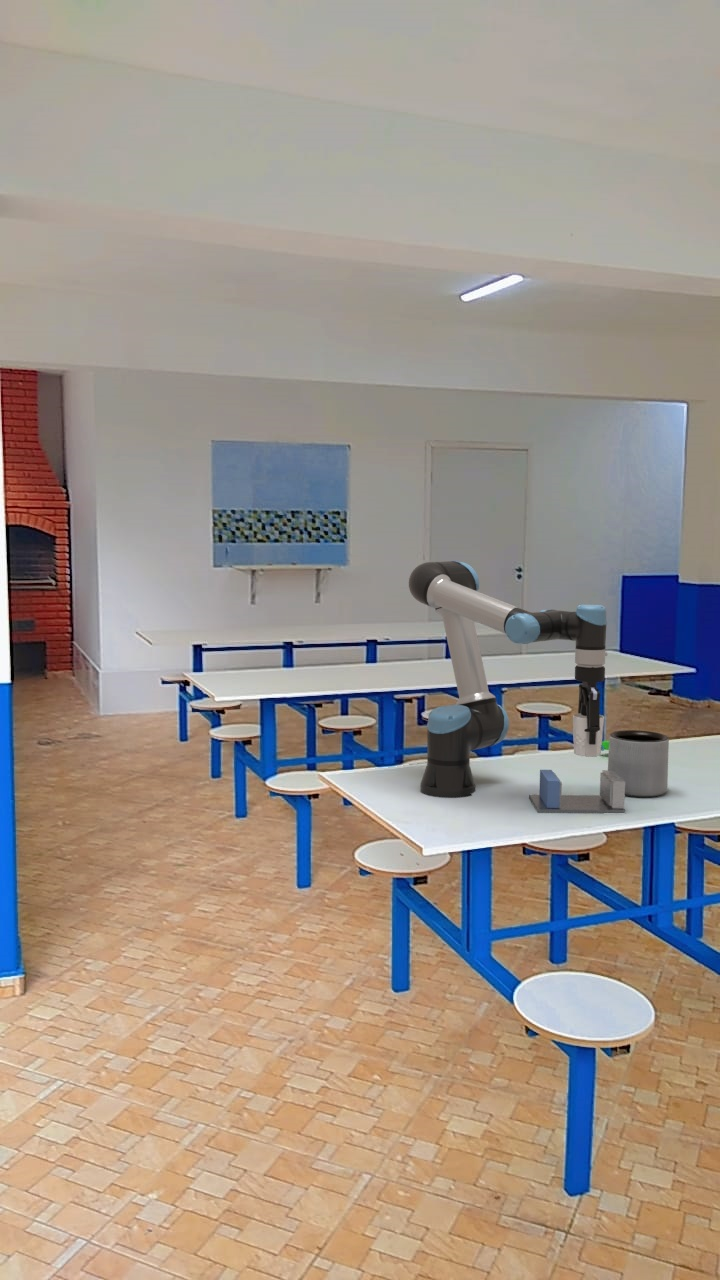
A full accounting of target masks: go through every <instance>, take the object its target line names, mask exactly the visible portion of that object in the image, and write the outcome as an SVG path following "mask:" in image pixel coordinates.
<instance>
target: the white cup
mask: <svg viewBox="0 0 720 1280" xmlns="http://www.w3.org/2000/svg"><path fill="white" fill-rule="evenodd" d="M604 723H605V716H604V715H601V714H600V730H599V731H598V732H597V757H599V756H601V754H602V751H601V745H602V742H603V737H604V727H605V726H604ZM593 726H595V725H593ZM585 729H587V716H583V715H581V713H579V714H578V713H574V714H573V715H572V736H573V738H572V739H573V754H574V755H575V756H576V755H577V756H579V757H580V756H581V757H586V756H585V750H586V732H585V731H584V730H585Z"/></svg>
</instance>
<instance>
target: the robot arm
mask: <svg viewBox="0 0 720 1280" xmlns="http://www.w3.org/2000/svg"><path fill="white" fill-rule="evenodd" d="M408 588H409V589H408V590H409V591H410V594H411V596H412V597H413V598H414V599H415V600H416V601H418V602H419V603H421V604H424V605H426V606H428V607H431V608H433V609H435V612H436V613H437V614H438V615H440V616H441V617H442V622H443V626H444V631H445V636H446V641H447V646H448V650H449V655H450V660H451V664H452V669H453V675H454V678H455V682H456V683H455V684H456V689H457V693H458V697H459V698H458V699H457V701H456V703H455V704H449V705H442V706H438V707H435V708H433V709H432V710H431V711H429V713H428V718H427V723H426V728H427V735H426V736H427V737H426V738H427V747H426V749H427V752H426V753H427V755H426V756H427V759H426V760H427V761H426V763H427V764H426V765H425V769H424V773H423V776H422V777H421V781H420V793H421V794H423V795H426V796H428V797H434V798H441V799H442V798H443V799H444V798H445V799H457V798H466V797H471V796H473V794H474V793H475V792H476V782H475V778H474V776H473V773H472V769H471V765H470V758H471V751H474V750H480V749H483V748H491V747H493V746H495V745H497V744H499V743H501V742H502V741H503V740H505V738H506V736H507V734H508V731H509V728H510V719H509V715H508V713H507V711H506V710H505V709H504V708H503V706H502V705H500V704H498V702H497V697H496V696H495V695H494V694H493V693H491V692H490V691H489V686H488V682H487V677H486V673H485V667H484V662H483V658H482V654H481V648H480V643H479V640H478V635H477V629H476V625H475V622H476V623H479V624H481V625H483V626H485V627H488V628H490V629H493V630H496V631H498V632H500V633H503V634H505V635H506V637H507V638H508V639H509V640H510V641H511V642H512V643H514V644H521V645H526V644H532V643H537V642H545V641H547V642H548V641H554V640H555V641H556V640H564V641H573V642H575V649H574V651H575V652H574V663H575V666H574V679H575V680H576V681H578V682H582V683H579V684H578V711H577V714H579V713H581V715H583V716H587V729H585V730H584V731H585V732H586V750H585V756H584V757H586V758H597V757H598V756H597V732H598V731H599V730H600V715H601V713H600V711H601V709H600V703H601V701H600V699H601V691H599V688H598V687H597V686H598V685H597V683H598V682H599V683H601V682H604V681H605V679H606V667H605V666H604V665H605V664H606V657H607V656H608V652H606V647H607V646H606V638H607V636H606V635H607V625H608V621H607V619H608V618H607V608H606V607H605V606H604V605H601V604H578V606H576V610H575V611H567V610H557V609H541V610H540V611H538V612H537V611H536V612H531V611H528V610H525V609H523V608H520V607H517V606H515V605H513V604H510V603H507V602H505V601H502V600H500V599H498V598H495V597H494V596H491V595H490V596H489V595H487V594H485V593H482V592H479V589H480V580H479V576H478V574H477V572H476V570H475V569H474V568H473V567H472V566H471V565H469V563H467V562H463V561H456V560H450V561H430V562H429V561H428V562H427V561H426V562H423V563H421V564H418V565H417V566H416V567H415V568H414V569H413V570H412V571H411V573H410V576H409V578H408ZM593 725H595V726H593Z"/></svg>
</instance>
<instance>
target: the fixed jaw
mask: <svg viewBox="0 0 720 1280" xmlns="http://www.w3.org/2000/svg"><path fill="white" fill-rule="evenodd" d="M599 777H600V778H599V779H600V782H599V795H600V796H601V797H602V798H603V799H604V800H605V801H606V803H607V804H608V805H609V806H611V808H612V809H625V801H626V800H625V797H626V795H625V781H624V780H623V779H622V778H621V777H620V776H619V775H618V774H617V773H616V772H615V771H614V770H608V769H605V770H603V769H602V771H601V772H600V776H599Z"/></svg>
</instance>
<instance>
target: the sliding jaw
mask: <svg viewBox="0 0 720 1280" xmlns="http://www.w3.org/2000/svg"><path fill="white" fill-rule="evenodd" d="M562 785H563V783H562V781H561V779H560V778H559V777H558V775H557V774H556V773H555V772H554V771H553V769H540V770H539V790H538V791H539V792H538V793H539V794H538V795H539V796H540V797H541V799H542V800H543V802H544V804H545V805H546V807H547V808H559V806H561V795H562V790H563V789H562Z"/></svg>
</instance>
